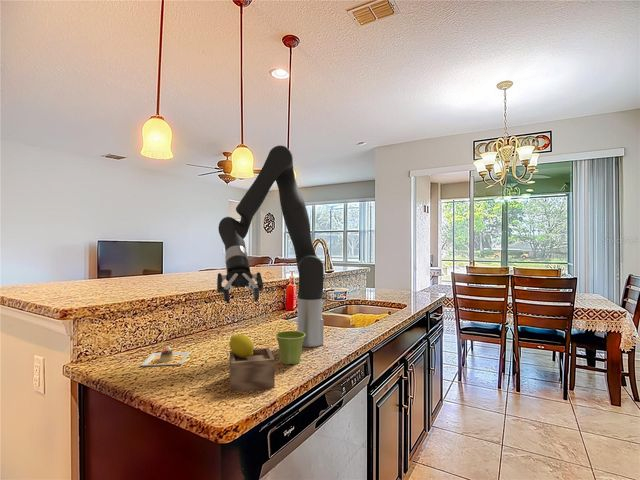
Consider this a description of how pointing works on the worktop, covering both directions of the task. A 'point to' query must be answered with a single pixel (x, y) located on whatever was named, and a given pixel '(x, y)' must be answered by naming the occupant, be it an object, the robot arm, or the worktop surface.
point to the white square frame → (165, 357)
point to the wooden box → (252, 370)
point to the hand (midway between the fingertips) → (242, 300)
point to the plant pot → (290, 346)
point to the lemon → (241, 346)
